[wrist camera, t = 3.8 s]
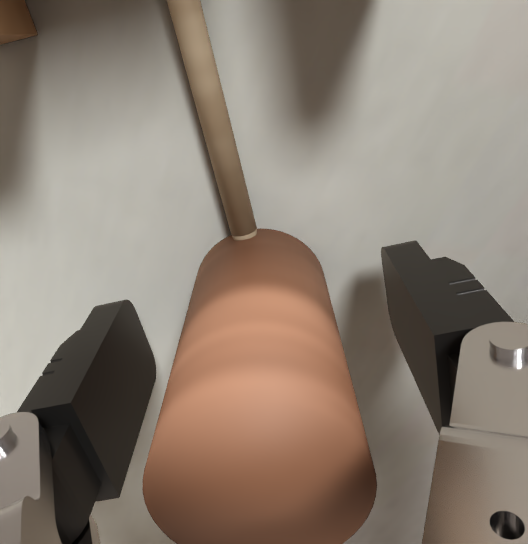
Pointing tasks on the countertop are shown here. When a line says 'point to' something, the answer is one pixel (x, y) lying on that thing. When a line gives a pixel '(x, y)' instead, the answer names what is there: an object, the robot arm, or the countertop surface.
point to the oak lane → (15, 21)
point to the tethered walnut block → (254, 374)
